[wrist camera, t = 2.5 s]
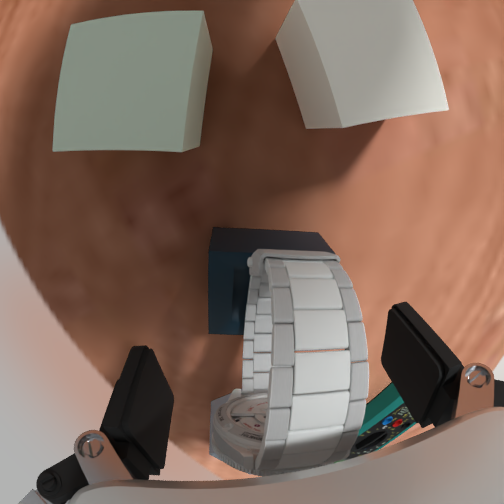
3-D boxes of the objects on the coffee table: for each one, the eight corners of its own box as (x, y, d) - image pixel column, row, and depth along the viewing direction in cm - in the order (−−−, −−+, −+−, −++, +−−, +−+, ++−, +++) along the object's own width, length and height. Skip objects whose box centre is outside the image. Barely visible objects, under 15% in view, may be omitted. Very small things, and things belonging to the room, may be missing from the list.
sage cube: (117, 52, 11) (70, 24, 6) (212, 50, 11) (203, 10, 7) (105, 143, 13) (52, 151, 8) (199, 146, 13) (182, 152, 9)
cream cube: (275, 38, 11) (296, -3, 7) (362, 28, 11) (411, -3, 6) (305, 129, 13) (342, 128, 8) (389, 111, 13) (448, 110, 8)
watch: (211, 326, 17) (203, 503, 7) (214, 193, 14) (173, 351, 4) (302, 327, 18) (353, 490, 8) (324, 200, 14) (471, 333, 4)
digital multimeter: (431, 386, 23) (443, 405, 20) (332, 459, 27) (338, 477, 25) (399, 369, 21) (413, 392, 18) (289, 451, 25) (292, 473, 23)
